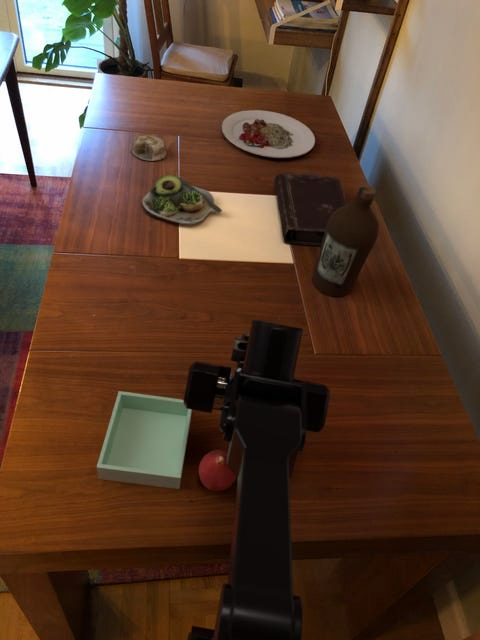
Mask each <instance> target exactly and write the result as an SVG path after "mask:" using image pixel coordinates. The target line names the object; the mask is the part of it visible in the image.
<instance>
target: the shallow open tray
mask: <svg viewBox="0 0 480 640" xmlns="http://www.w3.org/2000/svg"><path fill="white" fill-rule="evenodd" d="M183 402H184V399H181V398H173V397H165V396H158V395H152V394H143V393H136V392H128V391H123V390H118V392H117V396H116V400H115V403H114V406H113V409H112V413H111V416H110V420H109V422H108V426H107V431H106V433H105V437H104V441H103V444H102V448H101V451H100V454H99V458H98V461H97V464H96V471H97V476H98V479H99V480H104V481H111V482H119V483H126V484H136V485H143V486H150V487H151V486H152V487H157V488H158V487H159V488H166V489H175V490H180V488H181V482H182V476H183V470H184V463H185V458H186V452H187V445H188V439H189V433H190V426H191V421H192V415H193V410H192V409H187V408H186V407H185V405H184V404H183Z"/></svg>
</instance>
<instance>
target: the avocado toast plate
mask: <svg viewBox="0 0 480 640" xmlns="http://www.w3.org/2000/svg"><path fill="white" fill-rule="evenodd" d="M140 201H141V202H140V203H141V206H142V208H143V210H144V211H145V212H146V213H147V214H148V215H150V216H152V217H153V218H156V219H160V220H163V221H165V222H171V223H176V224H180V225H186V226H189V225H190V226H191V225H196V224H200V223H202V222H203V221H204V220H205V219H206V218H207V217H208V215H209V214H210V213H212V212H215V213H219V214H220V213H222V212H223V209H222V208H221V207H220V206H218V205H217V204H216V203H215V197H214V196H213V194H212V193H211V192H210V191H209V190H206V189H203V188H200V187H197V186H194V185H191V184H189V183H188V182H187V181H186V180H185V179H183V178H181V177H180V176H176V175H173V174H166V175H163V176H160V177H159V178H158V179H157V180H156V181H155V182H154V186H153V187H152V188H151V190H149V192H147V194H146V195H145V196H144V197H143V198H142V199H141V200H140Z"/></svg>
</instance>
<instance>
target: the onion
mask: <svg viewBox="0 0 480 640" xmlns="http://www.w3.org/2000/svg"><path fill="white" fill-rule="evenodd" d="M227 456H228V451H225V450H222V449H216V450H211V451H210V452H208V453H207V454H205V455H203V457H202V459H201V460H200V462H199V466H198V476H199V481H200V482H201V484H202V485H203V486H204V487H205V488H207V489H208V490H210V491H214V492H221V491H225V490H227V489H228V488H230V487H231V486H232V485H233V484H234V482H235V481H236V479H237V478H236V476H235V475H234V474H233V472H232V471H231V470H230V468H229V467H228V466H227Z"/></svg>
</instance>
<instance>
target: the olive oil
mask: <svg viewBox="0 0 480 640" xmlns="http://www.w3.org/2000/svg"><path fill="white" fill-rule="evenodd" d="M376 192H377V190H376V189H375V188H374V187H373V186H371V185H369V184H362V185H360V186H359V188H358V191H357V192H356V195H355V197H354V200H353V202H350V203H347V205H345V206H342V207H340V208H338V209H337V210H336V211H335V212H334V213H333V214H332V215H331V217H330V218H329V220H328V222H327V226H326V230H325V233H324V237H323V241H322V245H321V246H320V248H319V253H318V256H317V259H316V263H315V267H314V270H313V273H312V279H311V281H312V284H313V286H314V287H315V288H316V289H317V290H318V291H319V292H320V293H322V294H324V295H326V296H329V297H334V298H338V297H339V298H341V297H345V296H347V295H349V294H350V293H351V291H352V290H353V288H354V285H355V283H356V281H357V279H358V277H359V276H360V273H361V271H362V269H363V267H364V265H365V263H366V261H367V259H368V257H369V255H370V254H371V251H372V249H373V248H374V245H375V243H376V242H377V239H378V237H379V228H380V227H379V222H378V218H377V217H376V215H375V214H374V211H373V210H372V208H371V205H372V204H373V201H374V199H375V195H376Z"/></svg>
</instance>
